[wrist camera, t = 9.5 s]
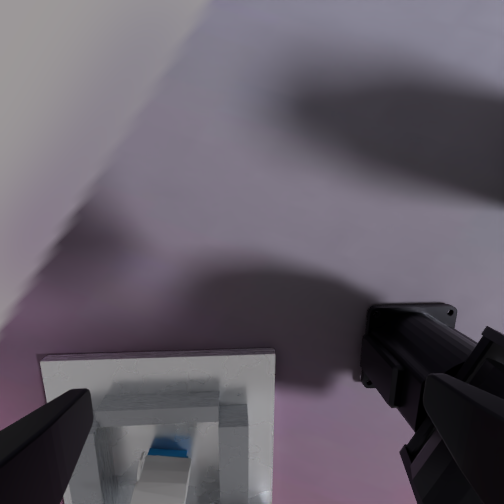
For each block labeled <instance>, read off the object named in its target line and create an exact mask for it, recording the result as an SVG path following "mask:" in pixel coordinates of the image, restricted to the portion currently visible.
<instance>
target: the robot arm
mask: <svg viewBox="0 0 504 504" xmlns="http://www.w3.org/2000/svg"><path fill="white" fill-rule="evenodd" d="M449 310H450V311H449ZM376 311H377V314H376V315H373V314H374V312H376ZM448 311H449V313H447V312H448ZM456 316H457V309H456V308H455V307H453V306H452V305H449V304H431V305H385V306H372V307H370V308H369V309H368V312H367V322H366V332H365V335H364V336H363V341H362V351H361V362H360V367H361V368H362V373H361V382H362V383H363V385H364V386H365V387H366V388H376V389H377V390H378V392H379V393H380V394H381V396H382V397H383V398H384V400H385V401H386V403H387V404H388V405H389V406H390V407H391V408H397V409H398V410H399V412H400V413H401V414H402V416H403V417H404V418H405V420H406V421H407V422H408V424H409V425H410V426H411V428H412V429H413V430H414V432H415V434H414V436H413V437H412V439H411V440H410V441H409V443H408V444H407V445H406V444H405V445H404V446H403V448H402V449H401V451H400V455H401V458H402V461H403V464H404V467H405V470H406V472H407V475H408V478H409V481H410V484H411V487H412V490H413V492H414V495H415V498H416V501H417V504H504V334H502V333H500V332H498V331H496V330H494V329H492V328H490V327H488V326H486V328H485V329H484V331H483V332H482V335H483V336H482V338H481V339H480V341H479V342H478V343H477V342H475V341H474V340H472V339H470V338H469V337H467V336H466V335H464V334H462V333H461V332H459V331H457V330H456V329H454V328H455V322H456ZM369 379H370V381H368V380H369ZM367 381H368V382H367ZM93 419H94V414H93V407H92V400H91V393H90V391H89V389H87V388H78V389H70V390H68V391H67V392H65V393H63V394H62V395H60V396H58V397H57V398H55V399H53V400H52V401H50V402H48V403H47V404H45V405H43V406H42V407H40V408H38V409H37V410H35V411H33V412H31V413H30V414H28V415H26V416H25V417H23V418H21V419H20V420H18V421H16V422H15V423H13V424H11V425H10V426H8V427H6V428H5V429H3V430H1V431H0V504H60V502H61V500H62V498H63V496H64V493H65V491H66V489H67V486H68V484H69V482H70V479H71V477H72V474H73V472H74V469H75V467H76V464H77V462H78V459H79V457H80V455H81V452H82V450H83V447H84V445H85V442H86V440H87V437H88V435H89V432H90V430H91V427H92V424H93Z"/></svg>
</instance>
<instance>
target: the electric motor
mask: <svg viewBox="0 0 504 504" xmlns="http://www.w3.org/2000/svg"><path fill="white" fill-rule="evenodd" d="M145 453H146V452H142V454H141V457H140V461H139V465H138V471H137V483H136V484H135V488H134V491H133V495H132V499H131V503H129V504H186V497H187V491H188V484H189V477H190V469H191V461H192V459H191V458H188V456H187V450H173V449H158V448H150V449H149V452H148V455H147V456H145Z"/></svg>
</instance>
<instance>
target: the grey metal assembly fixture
mask: <svg viewBox="0 0 504 504" xmlns="http://www.w3.org/2000/svg"><path fill="white" fill-rule="evenodd" d="M40 365H41V371H42V377H43V383H44V388H45V394H46V400H47V403H48V402H50V401H52V400H53V399H55V398H57V397H58V396H60V395H62V394H63V393H65V392H67V391H68V390H70V389H78V388H87V389H89V391H90V393H91V400H92V407H93V414H94V419H93V424H92V427H91V430H90V432H89V435H88V437H87V440H86V442H85V445H84V447H83V450H82V452H81V455H80V457H79V459H78V462H77V464H76V467H75V469H74V472H73V474H72V477H71V479H70V482H69V484H68V486H67V489H66V491H65V493H64V496H63V497H64V503H65V504H129V503H131V499H132V495H133V491H134V488H135V484H136V483H137V471H138V465H139V461H140V457H141V454H142V452H146V453H145V456H147V455H148V452H149V449H150V448H158V449H173V450H187V456H188V458H191V459H192V461H191V469H190V477H189V484H188V491H187V497H186V504H272V473H273V432H274V391H275V351H274V348H255V349H222V350H189V351H156V352H123V353H91V354H58V355H47V356H46V357H45V358H43V359H42V360H41V361H40Z"/></svg>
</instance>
